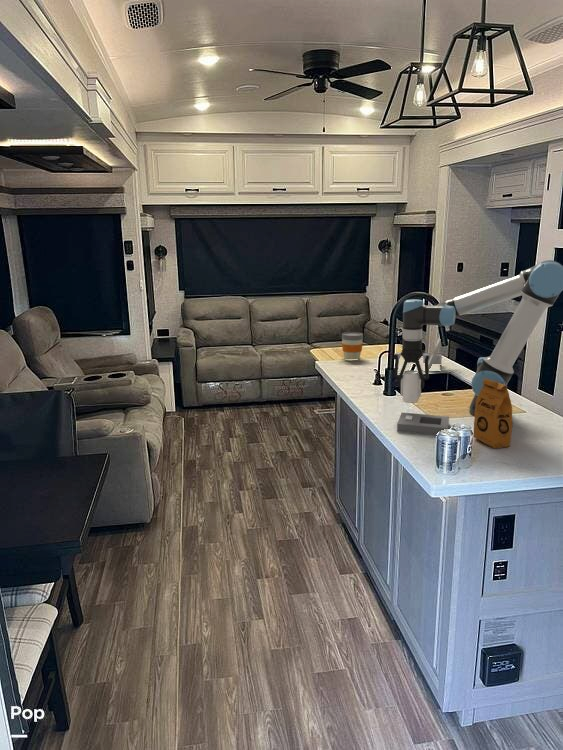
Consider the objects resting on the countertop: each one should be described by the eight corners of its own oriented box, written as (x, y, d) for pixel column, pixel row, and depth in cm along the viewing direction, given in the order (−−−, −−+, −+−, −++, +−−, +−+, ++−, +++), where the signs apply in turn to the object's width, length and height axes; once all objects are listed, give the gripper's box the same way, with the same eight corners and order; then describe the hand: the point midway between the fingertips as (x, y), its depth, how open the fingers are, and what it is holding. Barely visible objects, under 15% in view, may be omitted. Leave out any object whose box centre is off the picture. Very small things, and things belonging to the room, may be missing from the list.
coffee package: (490, 450, 188) (495, 387, 183) (468, 438, 200) (473, 378, 194) (515, 447, 191) (521, 385, 185) (492, 435, 202) (498, 376, 197)
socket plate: (448, 423, 214) (449, 415, 213) (447, 436, 201) (448, 426, 201) (401, 419, 220) (401, 410, 219) (397, 431, 207) (397, 422, 206)
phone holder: (422, 364, 312) (424, 332, 308) (441, 365, 309) (443, 333, 305) (421, 371, 296) (423, 338, 291) (441, 372, 293) (443, 338, 289)
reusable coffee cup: (339, 357, 331) (339, 332, 328) (359, 356, 333) (360, 331, 329) (343, 361, 319) (344, 336, 315) (365, 361, 320) (365, 335, 317)
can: (419, 403, 221) (420, 374, 218) (402, 402, 223) (403, 373, 220) (418, 398, 227) (419, 370, 225) (402, 398, 229) (403, 369, 226)
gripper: (438, 338, 219) (435, 394, 225) (388, 336, 225) (387, 391, 231) (437, 341, 213) (434, 399, 218) (386, 340, 219) (385, 396, 224)
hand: (410, 395), depth 224 cm, fingers closed on can, 6 cm apart
